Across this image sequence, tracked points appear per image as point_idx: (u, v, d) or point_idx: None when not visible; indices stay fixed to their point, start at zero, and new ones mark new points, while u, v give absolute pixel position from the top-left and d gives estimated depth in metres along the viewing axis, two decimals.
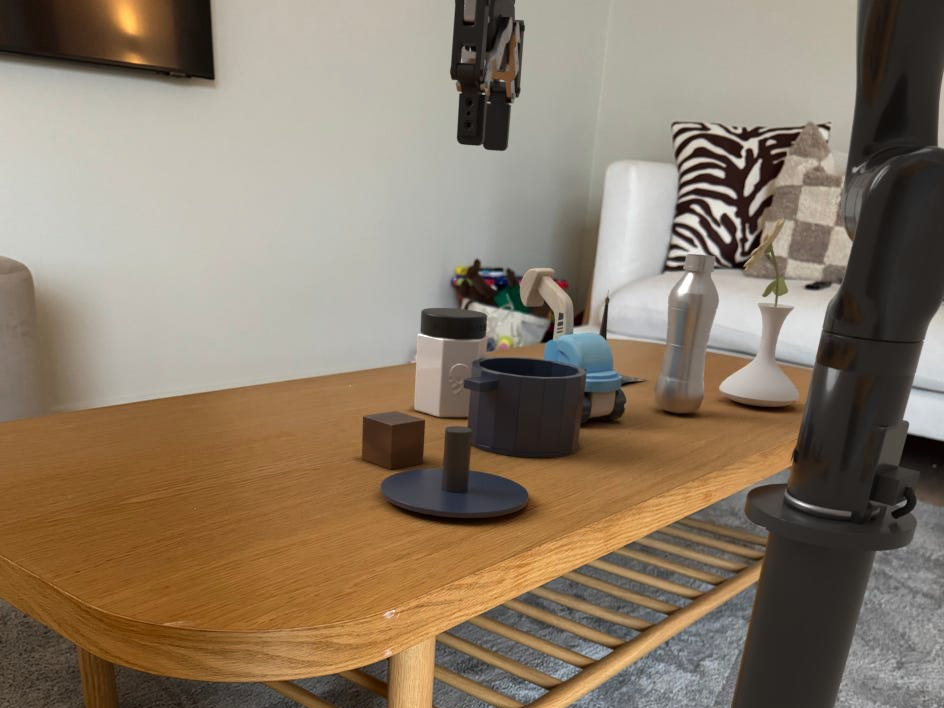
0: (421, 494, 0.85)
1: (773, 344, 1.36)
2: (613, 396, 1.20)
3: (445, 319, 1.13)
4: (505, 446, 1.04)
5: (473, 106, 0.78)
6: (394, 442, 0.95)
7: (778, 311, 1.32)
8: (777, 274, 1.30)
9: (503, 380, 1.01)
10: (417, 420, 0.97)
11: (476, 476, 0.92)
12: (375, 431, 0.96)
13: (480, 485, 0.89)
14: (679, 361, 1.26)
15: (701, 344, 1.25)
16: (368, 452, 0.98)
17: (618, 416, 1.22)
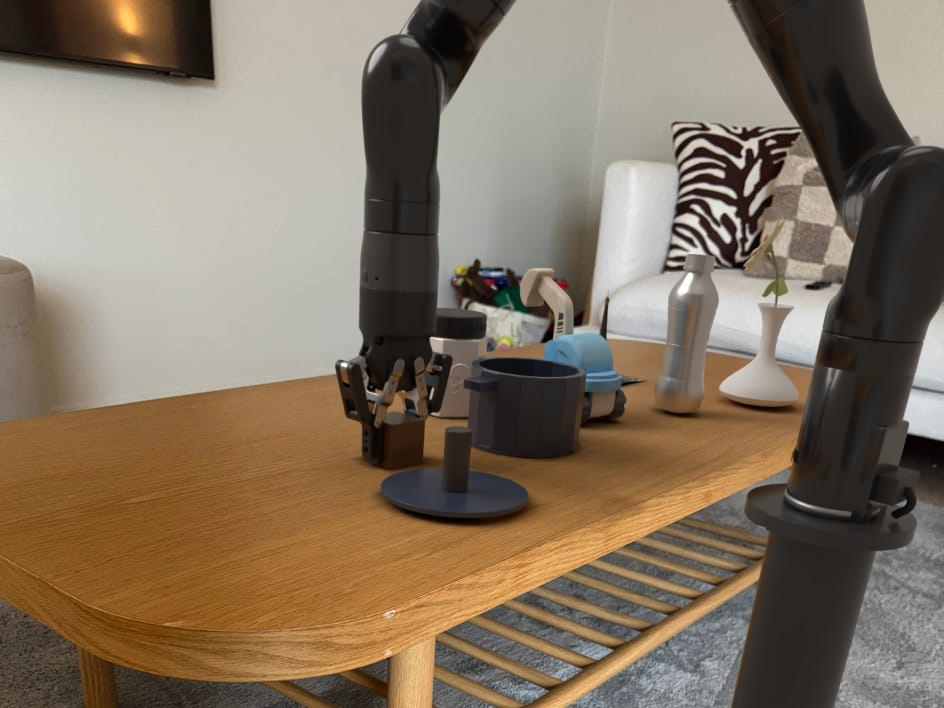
0: (421, 494, 0.85)
1: (773, 344, 1.36)
2: (613, 396, 1.20)
3: (445, 319, 1.13)
4: (505, 446, 1.04)
5: (369, 437, 0.95)
6: (394, 442, 0.95)
7: (778, 311, 1.32)
8: (777, 274, 1.30)
9: (503, 380, 1.01)
10: (417, 420, 0.97)
11: (476, 476, 0.92)
12: None
13: (480, 485, 0.89)
14: (679, 361, 1.26)
15: (701, 344, 1.25)
16: None
17: (618, 416, 1.22)
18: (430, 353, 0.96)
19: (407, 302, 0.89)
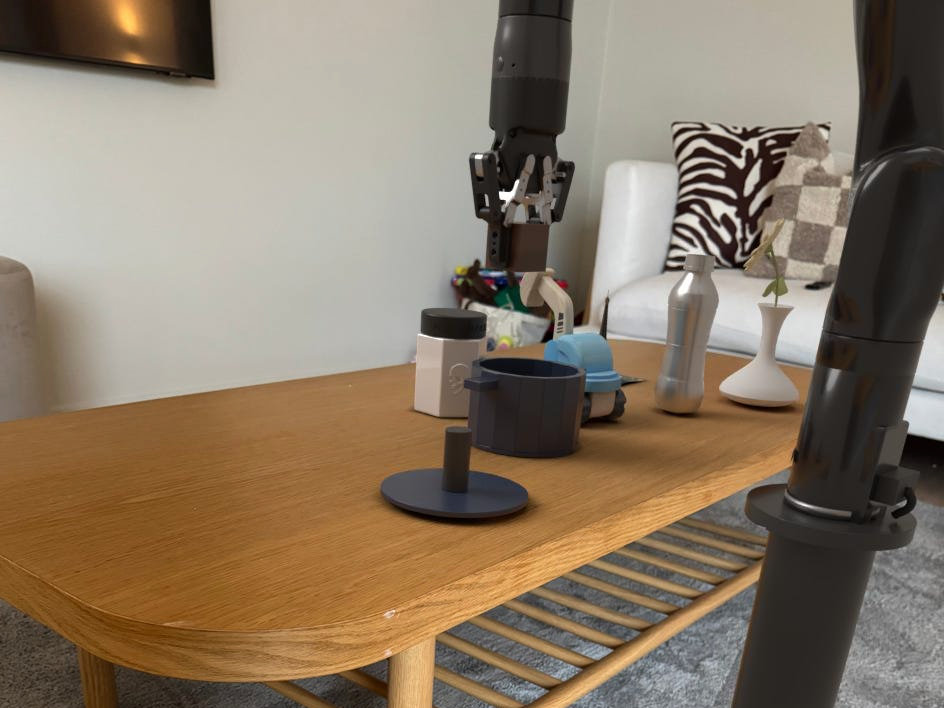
0: (421, 494, 0.85)
1: (773, 344, 1.36)
2: (613, 396, 1.20)
3: (445, 319, 1.13)
4: (505, 446, 1.04)
5: (497, 238, 0.95)
6: (522, 243, 0.95)
7: (778, 311, 1.32)
8: (777, 274, 1.30)
9: (503, 380, 1.01)
10: (542, 224, 0.97)
11: (476, 476, 0.92)
12: None
13: (480, 485, 0.89)
14: (679, 361, 1.26)
15: (701, 344, 1.25)
16: None
17: (618, 416, 1.22)
18: (556, 156, 0.96)
19: (543, 89, 0.89)
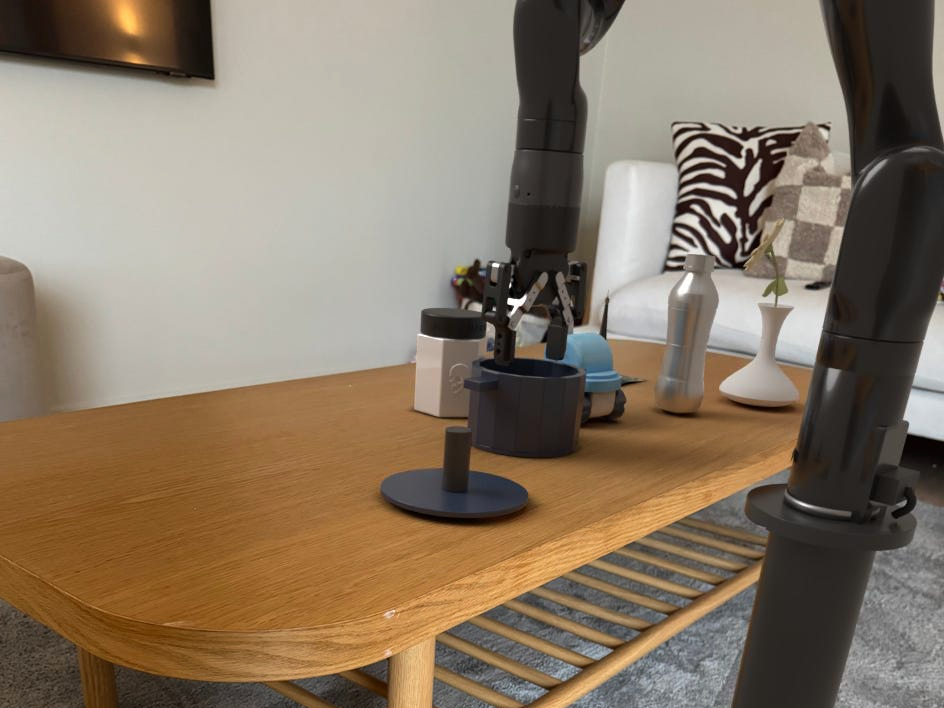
0: (421, 494, 0.85)
1: (773, 344, 1.36)
2: (613, 396, 1.20)
3: (445, 319, 1.13)
4: (505, 446, 1.04)
5: (502, 339, 1.01)
6: None
7: (778, 311, 1.32)
8: (777, 274, 1.30)
9: (503, 380, 1.01)
10: None
11: (476, 476, 0.92)
12: None
13: (480, 485, 0.89)
14: (679, 361, 1.26)
15: (701, 344, 1.25)
16: None
17: (618, 416, 1.22)
18: (567, 270, 1.03)
19: (556, 216, 0.96)
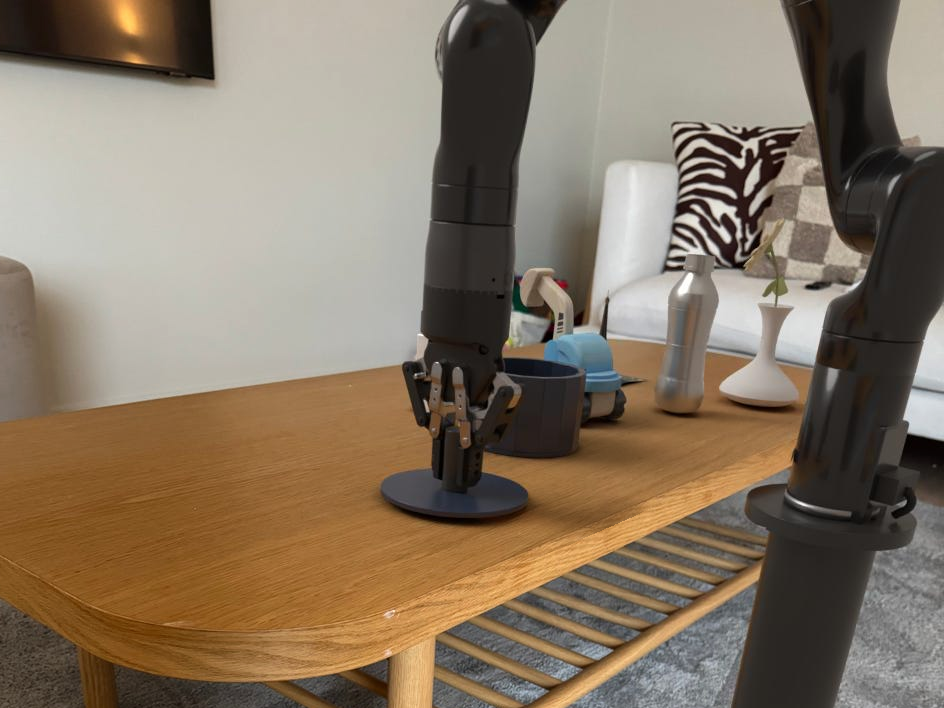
0: (421, 494, 0.85)
1: (773, 344, 1.36)
2: (613, 396, 1.20)
3: None
4: (505, 446, 1.04)
5: None
6: None
7: (778, 311, 1.32)
8: (777, 274, 1.30)
9: None
10: None
11: None
12: None
13: (480, 485, 0.89)
14: (679, 361, 1.26)
15: (701, 344, 1.25)
16: None
17: (618, 416, 1.22)
18: (484, 370, 0.80)
19: (424, 295, 0.79)
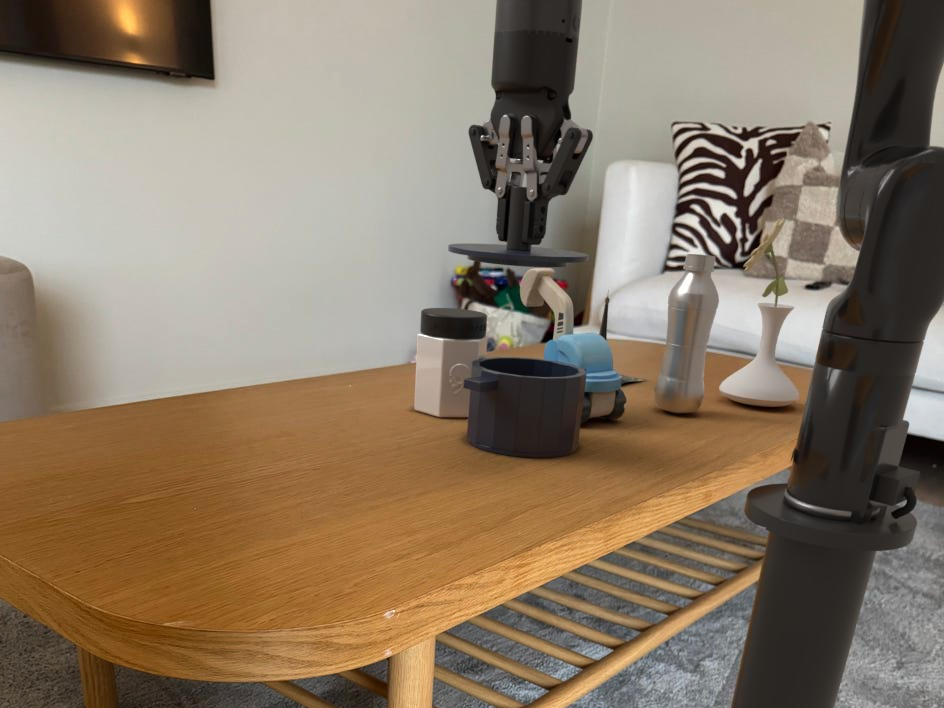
0: (488, 249, 0.90)
1: (773, 344, 1.36)
2: (613, 396, 1.20)
3: (445, 319, 1.13)
4: (505, 446, 1.04)
5: (499, 209, 0.92)
6: None
7: (778, 311, 1.32)
8: (777, 274, 1.30)
9: (503, 380, 1.01)
10: None
11: (535, 248, 0.97)
12: None
13: (541, 250, 0.94)
14: (679, 361, 1.26)
15: (701, 344, 1.25)
16: None
17: (618, 416, 1.22)
18: (552, 116, 0.85)
19: (495, 44, 0.84)
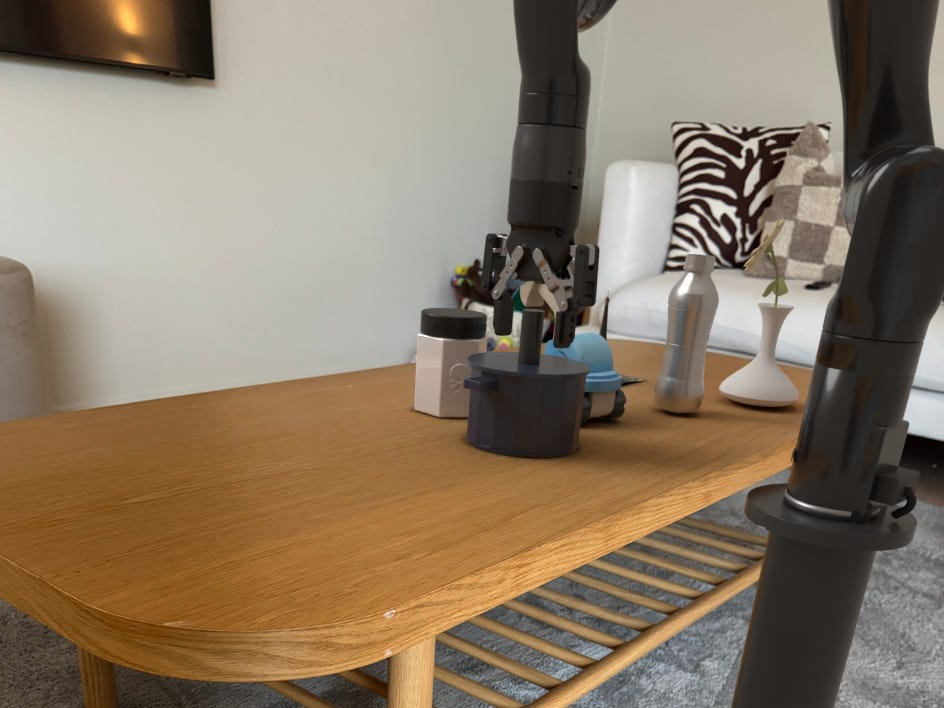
0: (502, 364, 1.03)
1: (773, 344, 1.36)
2: (613, 396, 1.20)
3: (445, 319, 1.13)
4: (505, 446, 1.04)
5: None
6: None
7: (778, 311, 1.32)
8: (777, 274, 1.30)
9: (503, 380, 1.01)
10: None
11: (544, 356, 1.10)
12: None
13: (549, 361, 1.07)
14: (679, 361, 1.26)
15: (701, 344, 1.25)
16: None
17: (618, 416, 1.22)
18: (560, 250, 0.98)
19: (511, 188, 0.97)
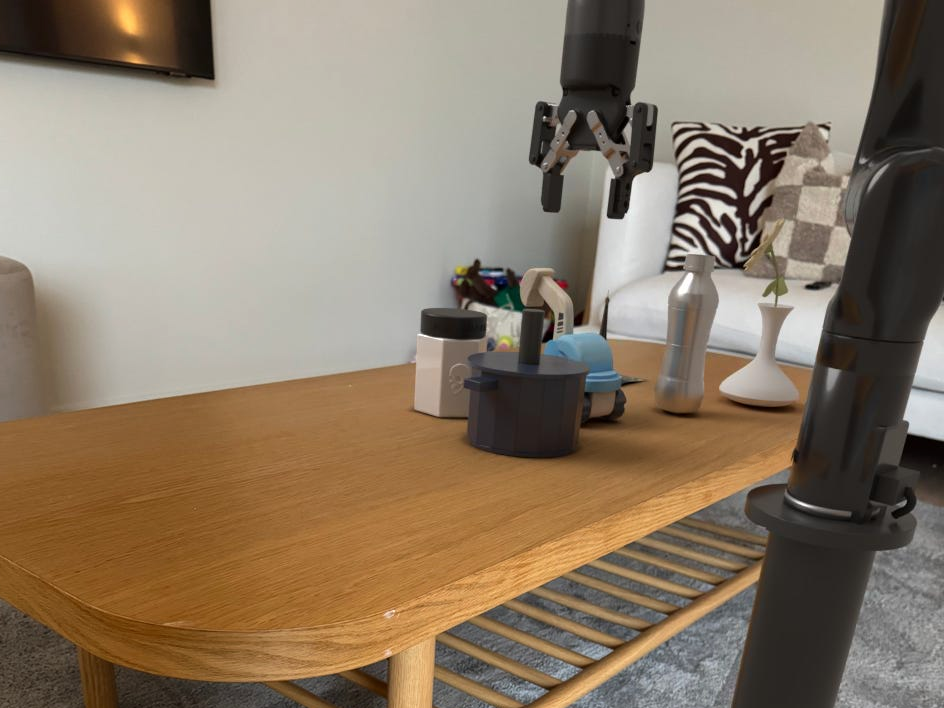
0: (502, 364, 1.03)
1: (773, 344, 1.36)
2: (613, 396, 1.20)
3: (445, 319, 1.13)
4: (505, 446, 1.04)
5: None
6: None
7: (778, 311, 1.32)
8: (777, 274, 1.30)
9: (503, 380, 1.01)
10: None
11: (544, 356, 1.10)
12: None
13: (549, 361, 1.07)
14: (679, 361, 1.26)
15: (701, 344, 1.25)
16: None
17: (618, 416, 1.22)
18: (616, 111, 0.93)
19: (565, 45, 0.93)
